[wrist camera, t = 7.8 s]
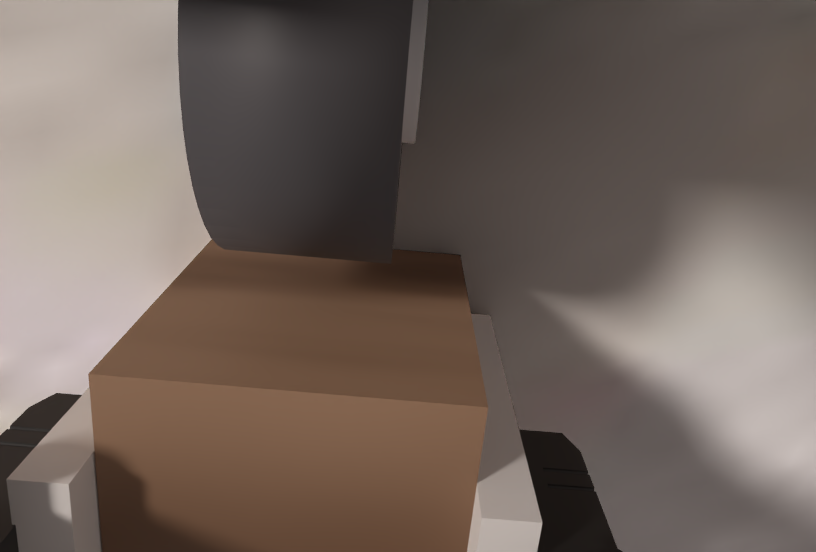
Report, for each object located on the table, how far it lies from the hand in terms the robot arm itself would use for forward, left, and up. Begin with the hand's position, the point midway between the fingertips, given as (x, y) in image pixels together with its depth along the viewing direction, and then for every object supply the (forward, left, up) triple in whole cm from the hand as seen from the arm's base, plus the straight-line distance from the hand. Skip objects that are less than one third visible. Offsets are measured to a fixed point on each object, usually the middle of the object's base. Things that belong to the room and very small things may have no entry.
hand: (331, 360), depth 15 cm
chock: (0, 0, 0) cm, 0 cm away
